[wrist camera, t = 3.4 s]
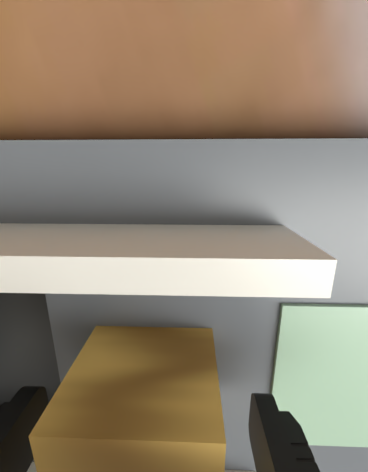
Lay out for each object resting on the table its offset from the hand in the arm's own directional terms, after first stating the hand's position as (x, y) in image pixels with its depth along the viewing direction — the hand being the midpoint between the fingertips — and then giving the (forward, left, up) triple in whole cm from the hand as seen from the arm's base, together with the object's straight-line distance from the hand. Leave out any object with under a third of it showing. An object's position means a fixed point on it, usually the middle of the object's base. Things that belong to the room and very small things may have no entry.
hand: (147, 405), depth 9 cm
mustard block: (0, 0, -2) cm, 2 cm away
